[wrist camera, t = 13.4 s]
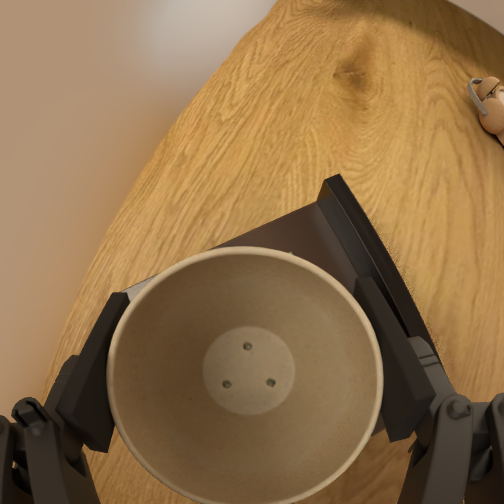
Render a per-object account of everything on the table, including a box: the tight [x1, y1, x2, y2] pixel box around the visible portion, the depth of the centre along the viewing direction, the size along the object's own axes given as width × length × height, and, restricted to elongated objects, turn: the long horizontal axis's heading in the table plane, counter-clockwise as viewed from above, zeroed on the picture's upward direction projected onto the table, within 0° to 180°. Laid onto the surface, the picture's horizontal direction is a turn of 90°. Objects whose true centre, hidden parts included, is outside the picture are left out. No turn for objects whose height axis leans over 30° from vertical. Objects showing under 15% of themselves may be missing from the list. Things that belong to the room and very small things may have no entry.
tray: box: [121, 174, 446, 437], centre depth 19 cm, size 16×16×7 cm
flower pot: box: [106, 246, 384, 504], centre depth 13 cm, size 10×10×7 cm
